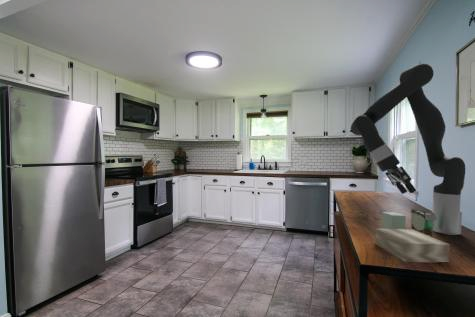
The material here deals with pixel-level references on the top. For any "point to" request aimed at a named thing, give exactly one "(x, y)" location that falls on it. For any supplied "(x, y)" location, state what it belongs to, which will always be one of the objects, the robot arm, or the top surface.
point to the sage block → (393, 220)
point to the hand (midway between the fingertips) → (408, 192)
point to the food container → (422, 221)
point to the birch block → (412, 245)
